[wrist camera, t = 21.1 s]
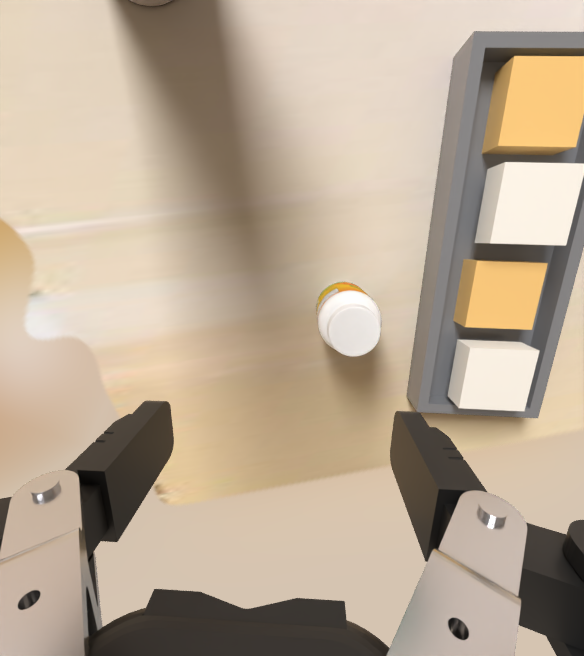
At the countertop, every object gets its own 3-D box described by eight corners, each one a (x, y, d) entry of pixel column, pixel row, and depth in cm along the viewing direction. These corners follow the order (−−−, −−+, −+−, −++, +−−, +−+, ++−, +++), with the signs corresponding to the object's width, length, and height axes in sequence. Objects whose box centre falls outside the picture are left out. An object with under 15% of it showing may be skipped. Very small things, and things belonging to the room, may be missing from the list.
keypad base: (453, 57, 27) (474, 31, 24) (598, 58, 27) (640, 32, 23) (406, 395, 36) (416, 412, 32) (515, 401, 35) (537, 418, 32)
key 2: (487, 169, 27) (505, 162, 24) (561, 170, 26) (586, 163, 24) (474, 242, 28) (490, 243, 26) (543, 245, 28) (566, 245, 26)
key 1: (495, 72, 26) (514, 55, 24) (570, 73, 26) (597, 56, 23) (481, 153, 28) (498, 145, 25) (552, 155, 27) (575, 147, 25)
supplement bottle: (378, 306, 33) (405, 331, 24) (341, 341, 34) (353, 378, 25) (342, 270, 32) (356, 282, 23) (305, 307, 34) (304, 333, 24)
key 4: (457, 339, 31) (470, 347, 28) (521, 342, 30) (539, 350, 28) (447, 395, 32) (458, 408, 30) (507, 398, 32) (524, 411, 30)
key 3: (463, 259, 30) (477, 260, 28) (528, 261, 30) (547, 263, 27) (453, 320, 32) (465, 327, 29) (514, 323, 31) (531, 329, 29)
